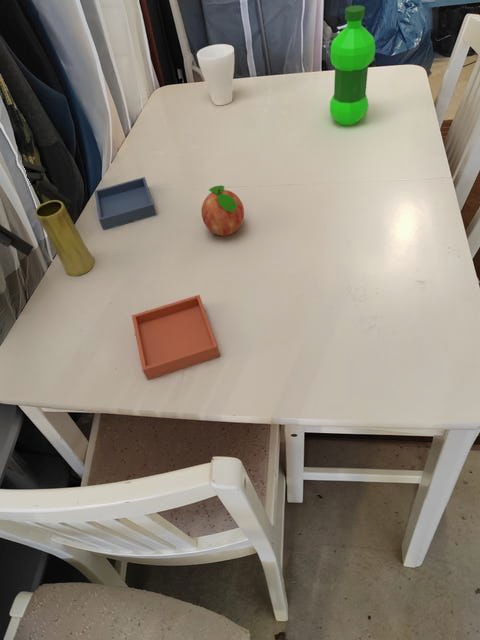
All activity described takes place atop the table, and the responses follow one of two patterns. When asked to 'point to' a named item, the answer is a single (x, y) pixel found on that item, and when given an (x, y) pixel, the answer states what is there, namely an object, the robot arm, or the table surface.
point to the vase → (64, 237)
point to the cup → (218, 71)
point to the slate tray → (124, 203)
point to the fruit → (222, 211)
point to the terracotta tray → (174, 337)
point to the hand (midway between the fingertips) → (50, 228)
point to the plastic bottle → (351, 68)
